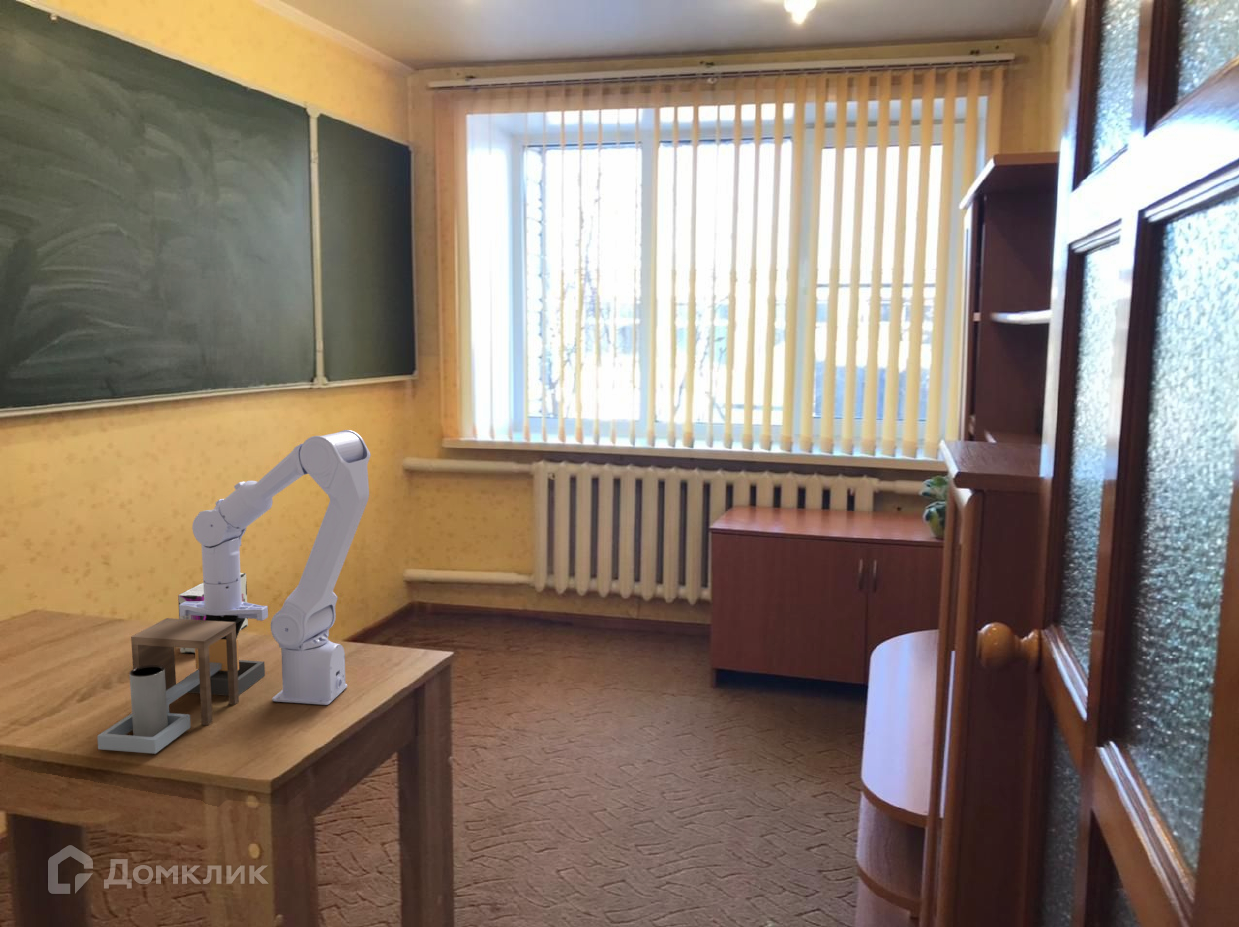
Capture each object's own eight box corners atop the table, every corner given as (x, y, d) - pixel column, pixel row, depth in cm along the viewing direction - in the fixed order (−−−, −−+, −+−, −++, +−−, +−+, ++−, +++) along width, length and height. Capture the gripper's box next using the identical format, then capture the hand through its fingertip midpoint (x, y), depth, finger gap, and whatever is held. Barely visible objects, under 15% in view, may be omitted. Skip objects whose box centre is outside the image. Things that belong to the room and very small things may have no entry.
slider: (244, 686, 154) (242, 640, 153) (155, 753, 130) (152, 699, 129) (195, 683, 155) (193, 637, 154) (98, 749, 131) (94, 694, 130)
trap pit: (264, 675, 160) (264, 661, 160) (237, 695, 151) (237, 681, 151) (215, 672, 161) (214, 658, 161) (185, 692, 152) (184, 677, 152)
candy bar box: (177, 652, 170) (225, 625, 186) (203, 654, 169) (249, 627, 185) (175, 593, 168) (224, 571, 184) (201, 595, 168) (248, 572, 184)
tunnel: (238, 701, 149) (235, 622, 147) (208, 725, 140) (203, 641, 138) (171, 696, 150) (166, 618, 148) (136, 719, 142) (131, 636, 140)
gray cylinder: (130, 745, 133) (126, 677, 132) (137, 732, 137) (133, 665, 136) (165, 742, 134) (161, 674, 133) (170, 729, 139) (167, 663, 137)
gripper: (275, 575, 157) (278, 652, 159) (194, 571, 158) (198, 647, 160) (254, 587, 150) (257, 667, 152) (170, 582, 152) (174, 662, 154)
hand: (225, 658), depth 156 cm, fingers closed, pressing on slider
